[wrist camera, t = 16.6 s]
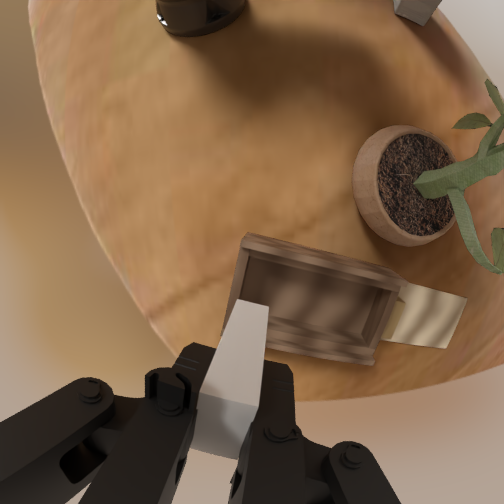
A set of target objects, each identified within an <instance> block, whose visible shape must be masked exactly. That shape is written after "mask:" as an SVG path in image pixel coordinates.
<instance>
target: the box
mask: <svg viewBox="0 0 504 504" xmlns="http://www.w3.org/2000/svg"><path fill="white" fill-rule="evenodd" d="M407 285H408V281H407V280H405V279H404V278H403V277H401V276H400V275H398V274H397V273H395V272H394V271H393V270H391V269H390V268H387V267H383V266H379V265H376V264H372V263H368V262H364V261H360V260H357V259H353V258H349V257H345V256H341V255H337V254H334V253H330V252H326V251H322V250H318V249H314V248H310V247H306V246H302V245H298V244H294V243H290V242H286V241H282V240H278V239H274V238H270V237H266V236H262V235H257V234H253V233H249V232H248V233H247V234H246V235H245V236H244V237H243V238H242V240H241V243H240V250H239V255H238V259H237V264H236V268H235V273H234V277H233V282H232V287H231V291H230V296H229V300H228V305H227V310H226V314H225V319H224V324H223V328H222V331H221V335H220V336H222V335H223V333H224V330H225V328H226V325H227V323H228V320H229V318H230V315H231V313H232V310H233V308H234V306H235V303H236V301H237V299H240V300H244V301H248V302H252V303H256V304H260V305H264V306H268V307H269V312H268V323H267V333H266V343H265V347H267V348H271V349H276V350H281V351H285V352H290V353H295V354H300V355H306V356H311V357H317V358H322V359H328V360H335V361H341V362H348V363H355V364H362V365H370V366H373V365H374V363H375V360H374V358H373V354H374V352H375V350H376V347H377V345H378V343H379V341H380V339H381V336H382V334H383V332H384V329H385V327H386V325H387V322H388V320H389V317H390V315H391V312H392V310H393V307H394V305H395V302H396V299H397V297H398V294H399V291H400V288H401V286H402V287H407Z"/></svg>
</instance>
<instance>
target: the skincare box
mask: <svg viewBox="0 0 504 504" xmlns="http://www.w3.org/2000/svg"><path fill="white" fill-rule="evenodd" d="M441 1H442V0H394V12H395V14H398V15H400V16H402V17H405V18H407V19H409V20H412V21H414V22H416V23H418V24H420V25H422V26H424V25H425V24H426V22H427V21H428V19H429V18H430V17H431V15H432V14H433V12H434V11H435V10H436V8H437V7H438V5H439V4H440V2H441Z"/></svg>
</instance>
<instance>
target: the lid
mask: <svg viewBox="0 0 504 504" xmlns="http://www.w3.org/2000/svg"><path fill="white" fill-rule="evenodd" d="M466 302H467V298H465V297H461V296H457V295H454V294H450V293H446V292H442V291H439V290H435V289H431V288H427V287H423V286H420V285H416V284H412V283H408V285H407V287H402V286H401V288H400V291H399V294H398V297H397V299H396V302H395V305H394V307H393V310H392V312H391V315H390V317H389V320H388V322H387V325H386V327H385V329H384V332H383V334H382V336H381V339H380V340H385V341H391V342H398V343H405V344H412V345H419V346H427V347H435V348H444V349H446V347H447V345H448V343H449V341H450V339H451V337H452V335H453V333H454V331H455V328H456V326H457V324H458V321H459V319H460V317H461V314H462V312H463V309H464V307H465V304H466Z"/></svg>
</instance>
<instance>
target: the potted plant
mask: <svg viewBox="0 0 504 504" xmlns="http://www.w3.org/2000/svg"><path fill="white" fill-rule="evenodd" d="M485 85H486V87H487V90H488V93H489V96H490V97H491V99H492V101H493V102H494V104H495V105H496V107H497V109H498V110H499V112H500V114H501V116H500V117H499V118H498V119H497V121H496V122H495V123H494V124H492V123H491V122H490V120H489V119H488V118H487V117H486V116H485V115H483V114H479V113H471V114H467V115H466V116H464V117H463V118H461V119H460V120H459V121H458V122H457V123H456V124H455V125H454V127H453V128H455V129H476V128H481V127H485V126H490V127H491V128H490V129H489V131H488V132H487V134H486V135H485V136H484V138H483V139H482V141H481V142H480V146H479V149H478V152H477V153H476V154H475V155H474V156H473V157H471V158H469V159H467V160H465V161H462V162H457V160H456V158H455V156H454V155H453V153H452V151H451V150H450V149H449V147H448V146H447V145H446V144H445V143H444V142H443V141H442V140H441V139H439V138H438V137H437V136H435V135H434V134H432V133H430V132H428V131H425V130H422V129H420V128H417V127H414V126H410V125H393V126H389V127H386V128H383V129H380V130H379V131H377V132H376V133H375V134H373V135H372V136H371V137H369V138H368V139H367V140H366V141H365V143H364V144H363V146H362V147H361V148H360V150H359V152H358V155H357V157H356V160H355V163H354V166H353V175H352V187H353V194H354V199H355V202H356V204H357V207H358V210H359V212H360V214H361V215H362V217H363V218H364V220H365V221H366V223H367V224H368V226H369V227H370V228H371V229H372V230H373V231H374V232H375V233H376V234H378V235H379V236H380V237H381V238H383V239H385V240H387V241H389V242H391V243H393V244H395V245H401V246H407V247H412V246H418V245H424V244H427V243H429V242H431V241H433V240H434V239H436V238H438V237H440V236H442V235H444V234H445V233H446V232H447V231H448V230H449V229H450V228H451V227H452V226H453V224H454V222H455V221H456V219H457V223H458V226H459V229H460V233H461V235H462V238H463V240H464V242H465V245H466V247H467V249H468V251H469V252H470V253H471V255H472V256H473V257H474V259H475V260H476V261H477V263H479V264H480V265H482V266H483V267H485V268H486V269H488V270H489V271H491V272H493V273H497V274H500V275H501V274H502V273H504V228H494V229H493V231H492V233H491V239H492V249H493V258H494V265H492V264H491V262H490V261H489V259H488V258H487V257H486V255H485V254H484V252H483V250H482V248H481V245H480V243H479V240H478V238H477V234H476V231H475V227H474V224H473V220H472V216H471V213H470V209H469V206H468V204H467V202H466V201H465V199H464V197H463V196H464V190H465V188H467V187H468V186H470V185H472V184H474V183H476V182H478V181H479V180H481V179H483V178H485V177H487V176H492V175H496V174H497V173H499V172H500V171H501V170H502V169H503V168H504V143H502V144H500V145H497V146H495V145H496V143H497V141H498V139H499V136H500V134H501V132H502V130H503V128H504V103H503V101H502V99H501V97H500V95H499V92H498V89H497V87H496V86H494V85H493V84H492V83H491V82H490V81H489V80H488V79H486V81H485Z"/></svg>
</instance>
